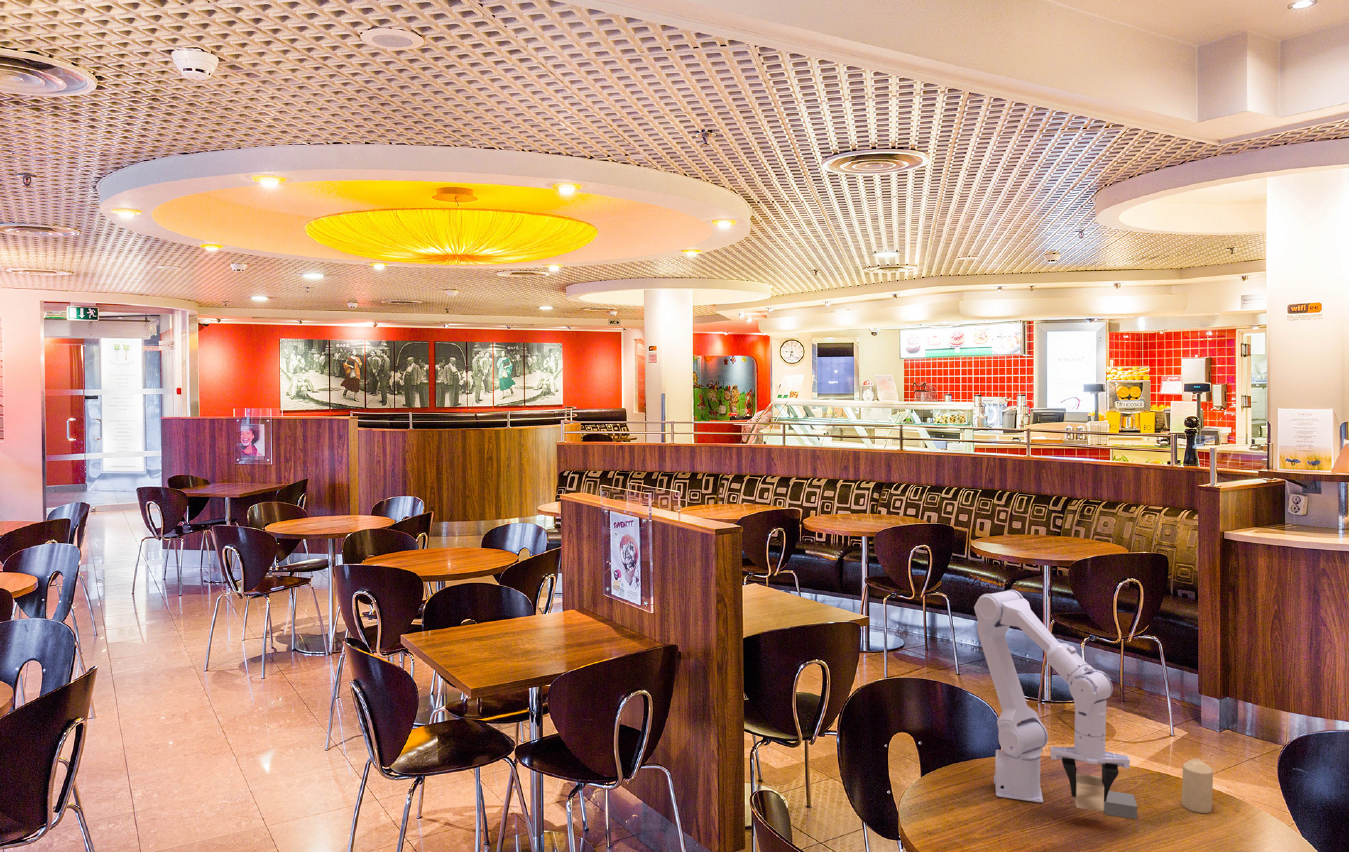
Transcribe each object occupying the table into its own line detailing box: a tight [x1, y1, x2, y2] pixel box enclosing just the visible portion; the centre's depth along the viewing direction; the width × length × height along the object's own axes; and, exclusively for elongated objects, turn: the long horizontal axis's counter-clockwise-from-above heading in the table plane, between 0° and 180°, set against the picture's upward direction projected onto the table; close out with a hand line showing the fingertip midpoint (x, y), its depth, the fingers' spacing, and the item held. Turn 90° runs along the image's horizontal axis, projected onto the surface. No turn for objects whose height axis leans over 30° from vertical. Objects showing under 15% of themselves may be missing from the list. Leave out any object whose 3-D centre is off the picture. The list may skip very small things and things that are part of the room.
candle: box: [1181, 758, 1214, 814], centre depth 185 cm, size 6×6×10 cm
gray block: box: [1103, 790, 1138, 820], centre depth 184 cm, size 6×6×3 cm
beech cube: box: [1073, 773, 1104, 812], centre depth 178 cm, size 5×5×5 cm
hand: (1088, 797), depth 178 cm, fingers closed on beech cube, 5 cm apart
